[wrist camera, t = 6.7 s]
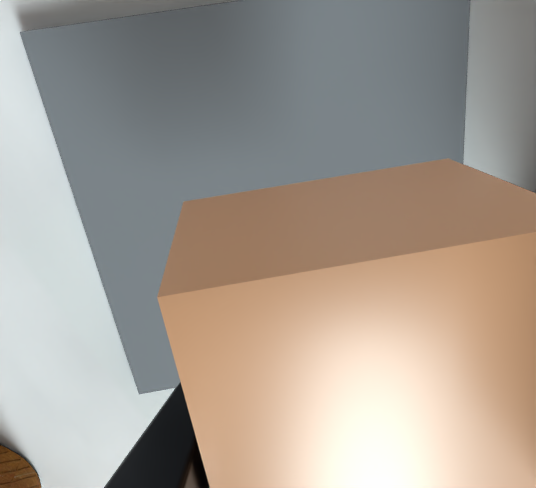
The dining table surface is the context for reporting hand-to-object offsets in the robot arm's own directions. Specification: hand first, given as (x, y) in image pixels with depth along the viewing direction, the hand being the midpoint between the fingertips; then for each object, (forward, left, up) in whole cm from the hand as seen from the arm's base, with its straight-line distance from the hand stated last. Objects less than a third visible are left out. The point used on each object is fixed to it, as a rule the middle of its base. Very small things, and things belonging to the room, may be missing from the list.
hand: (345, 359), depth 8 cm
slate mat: (0, 0, -9) cm, 9 cm away
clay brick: (0, 0, -1) cm, 1 cm away
